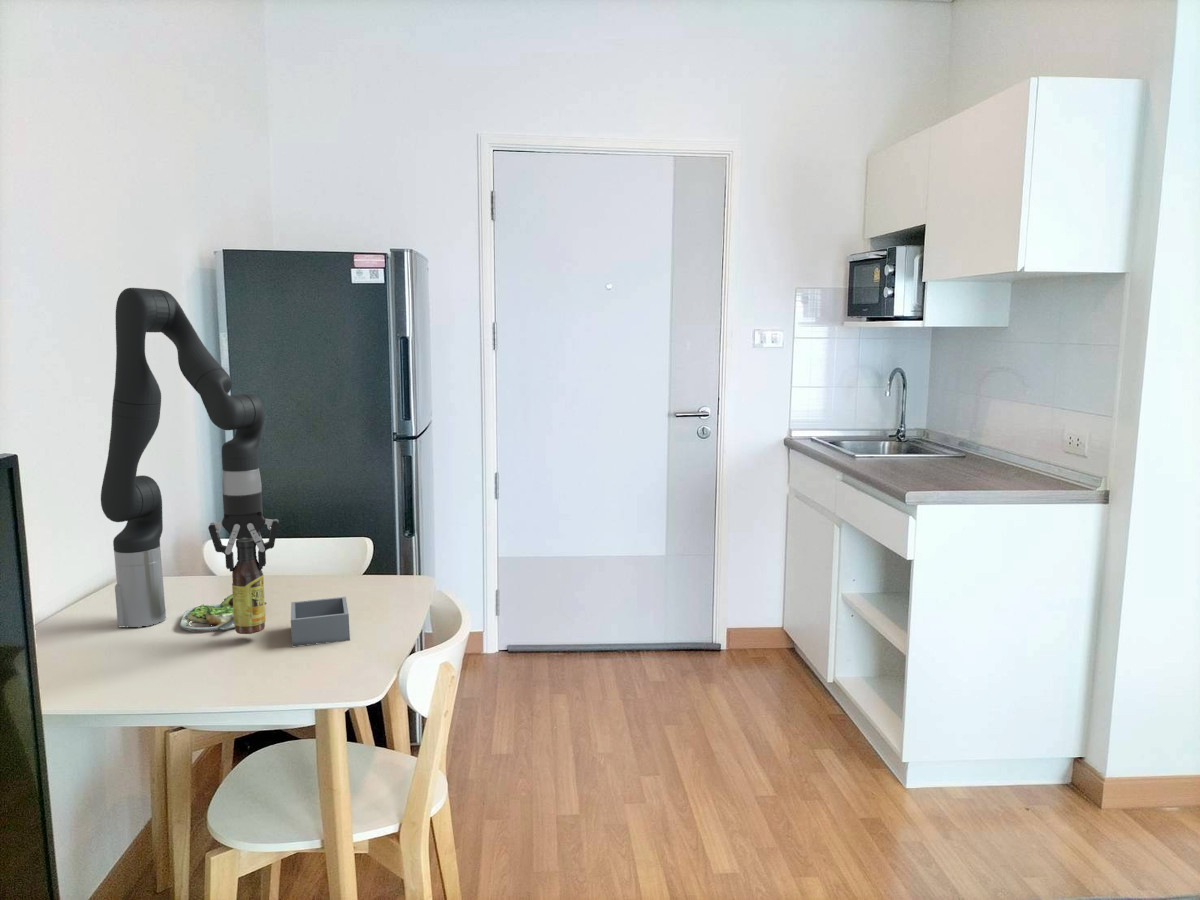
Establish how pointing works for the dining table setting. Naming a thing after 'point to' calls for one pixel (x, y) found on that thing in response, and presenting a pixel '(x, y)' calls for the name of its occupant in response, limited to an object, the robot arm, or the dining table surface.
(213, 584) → the dining table surface
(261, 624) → the sauce bottle
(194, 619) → the salad plate
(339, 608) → the bottle caddy
